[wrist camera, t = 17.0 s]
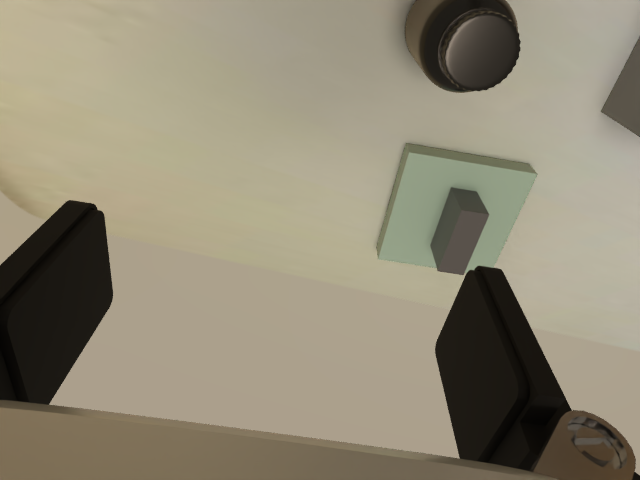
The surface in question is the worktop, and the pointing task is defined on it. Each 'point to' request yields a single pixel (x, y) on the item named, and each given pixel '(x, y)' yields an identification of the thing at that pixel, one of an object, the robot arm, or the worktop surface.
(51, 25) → the worktop surface
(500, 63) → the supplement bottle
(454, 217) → the lid
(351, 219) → the worktop surface
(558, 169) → the worktop surface
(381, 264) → the worktop surface
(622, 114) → the grey open storage bin
